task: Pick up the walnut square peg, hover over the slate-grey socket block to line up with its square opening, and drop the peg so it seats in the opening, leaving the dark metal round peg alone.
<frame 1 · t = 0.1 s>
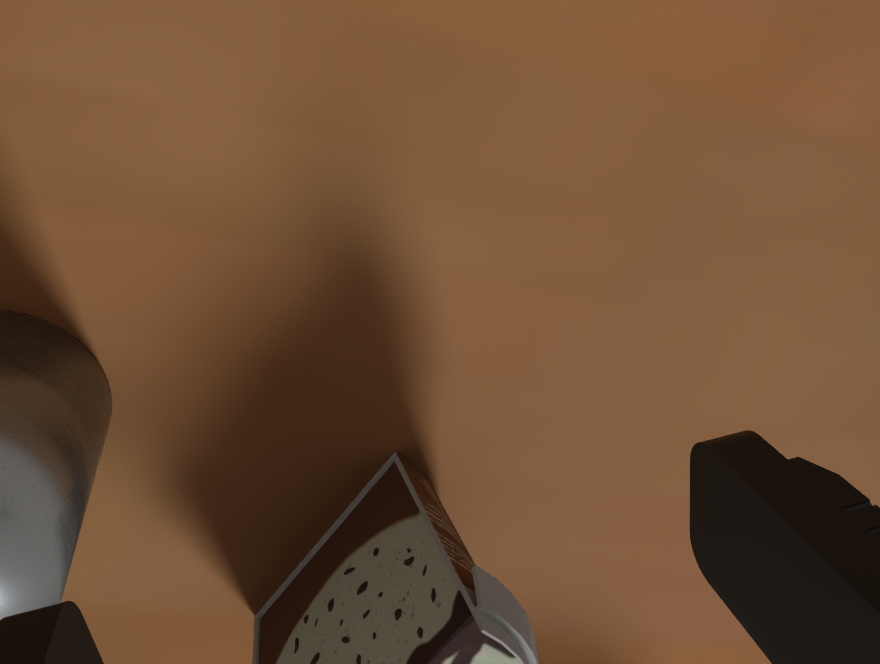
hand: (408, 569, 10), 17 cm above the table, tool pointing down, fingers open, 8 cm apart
round peg: (4, 401, 26), on the table
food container: (382, 561, 33), on the table
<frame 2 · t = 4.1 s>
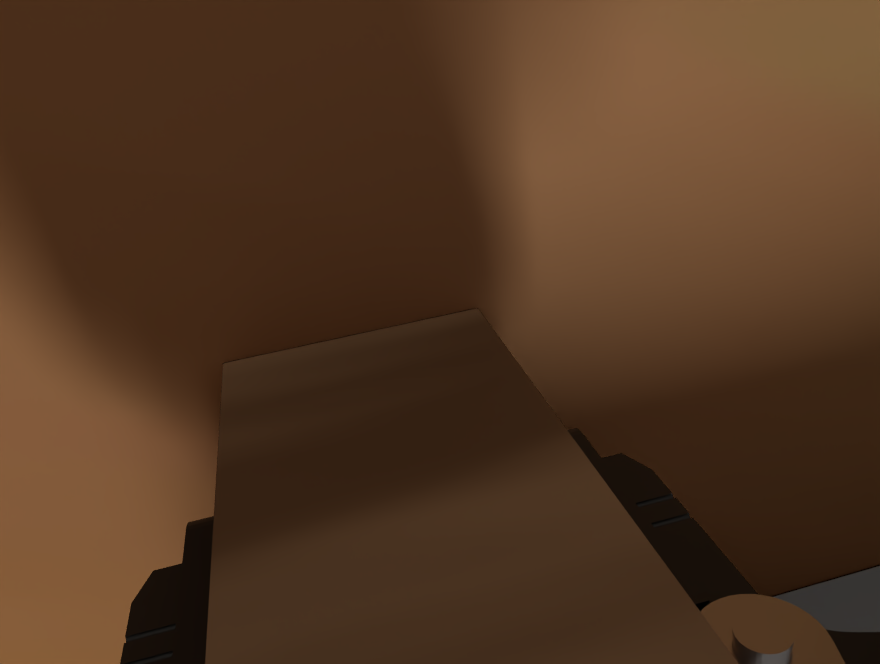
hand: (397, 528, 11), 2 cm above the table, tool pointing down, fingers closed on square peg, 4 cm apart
square peg: (375, 443, 13), on the table, touching gripper
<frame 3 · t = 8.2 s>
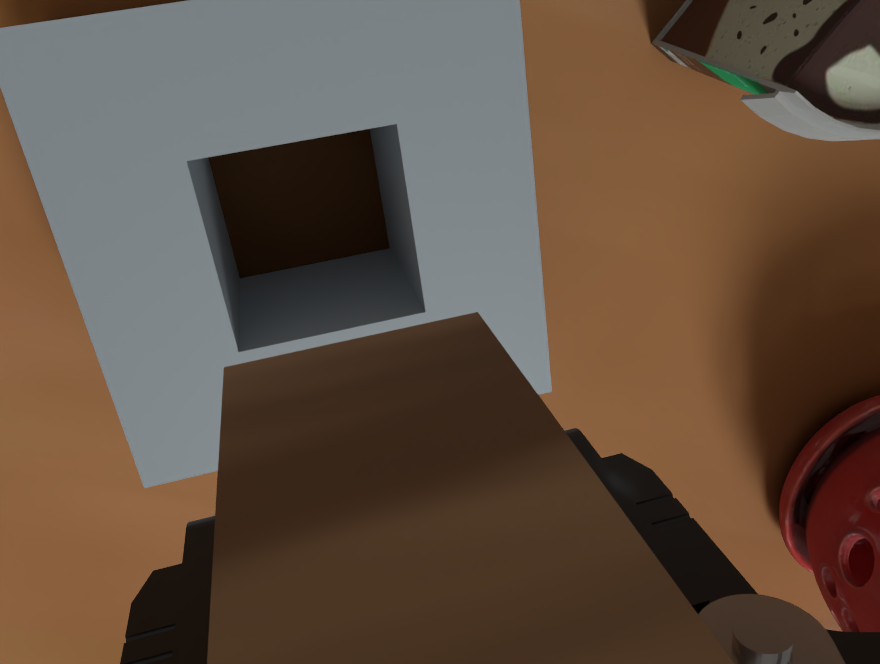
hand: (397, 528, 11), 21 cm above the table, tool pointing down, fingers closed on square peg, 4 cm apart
plant pot: (851, 474, 43), on the table
square peg: (375, 446, 13), point 19 cm above the table, touching gripper
socket block: (300, 189, 30), on the table
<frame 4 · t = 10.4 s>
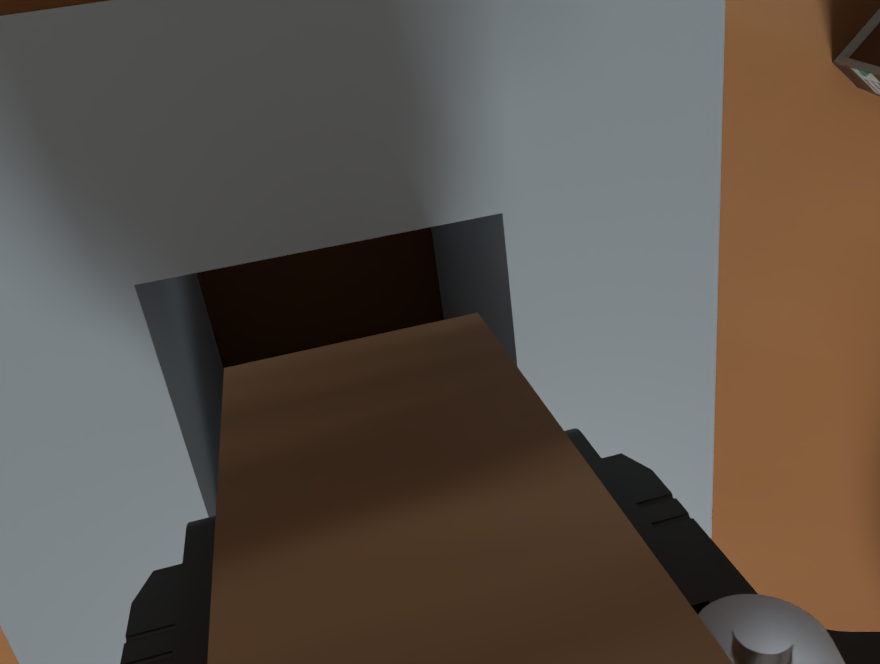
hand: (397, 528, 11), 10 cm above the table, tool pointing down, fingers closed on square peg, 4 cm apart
square peg: (375, 447, 13), point 8 cm above the table, touching gripper
socket block: (322, 276, 20), on the table
when the fingers open (8 cm above the table, at t = 12.3 s): square peg drops 6 cm, resting in socket block.
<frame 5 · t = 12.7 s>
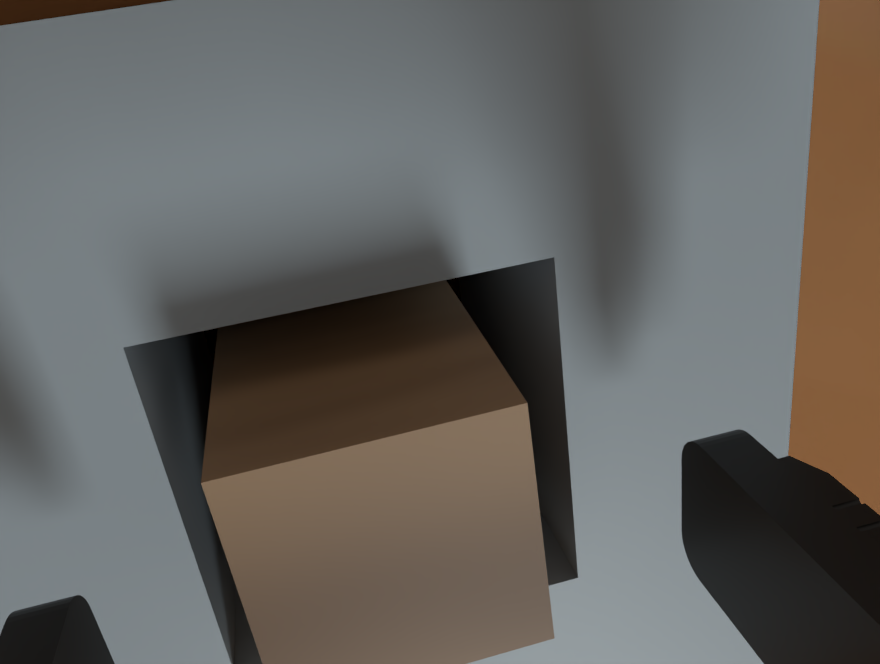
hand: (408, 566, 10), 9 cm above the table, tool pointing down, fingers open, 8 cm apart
square peg: (334, 313, 18), resting in socket block
socket block: (335, 311, 18), on the table
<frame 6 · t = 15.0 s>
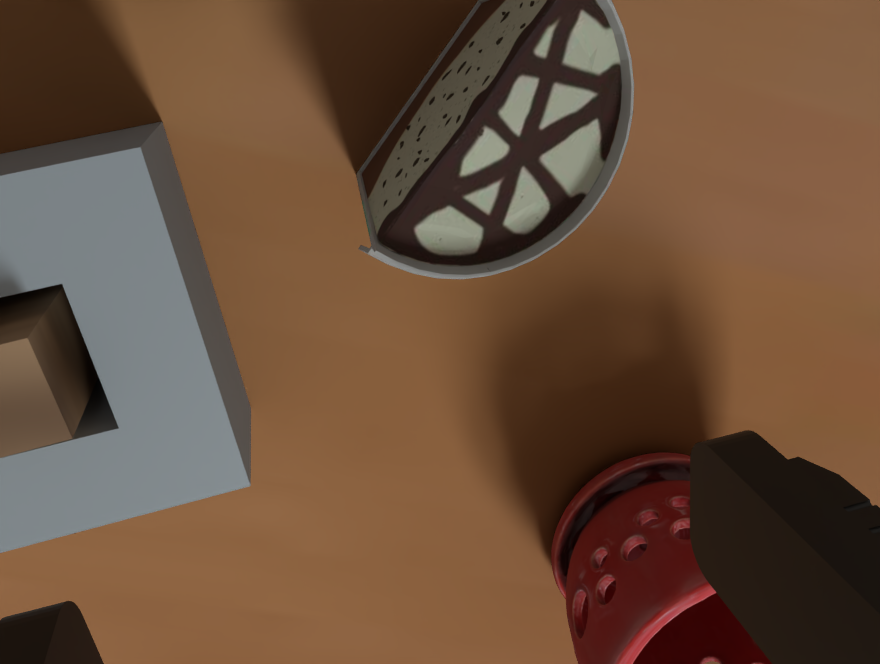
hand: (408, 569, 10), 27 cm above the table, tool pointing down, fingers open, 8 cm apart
plant pot: (627, 526, 47), on the table
square peg: (51, 313, 35), resting in socket block
socket block: (52, 312, 35), on the table
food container: (468, 129, 36), on the table
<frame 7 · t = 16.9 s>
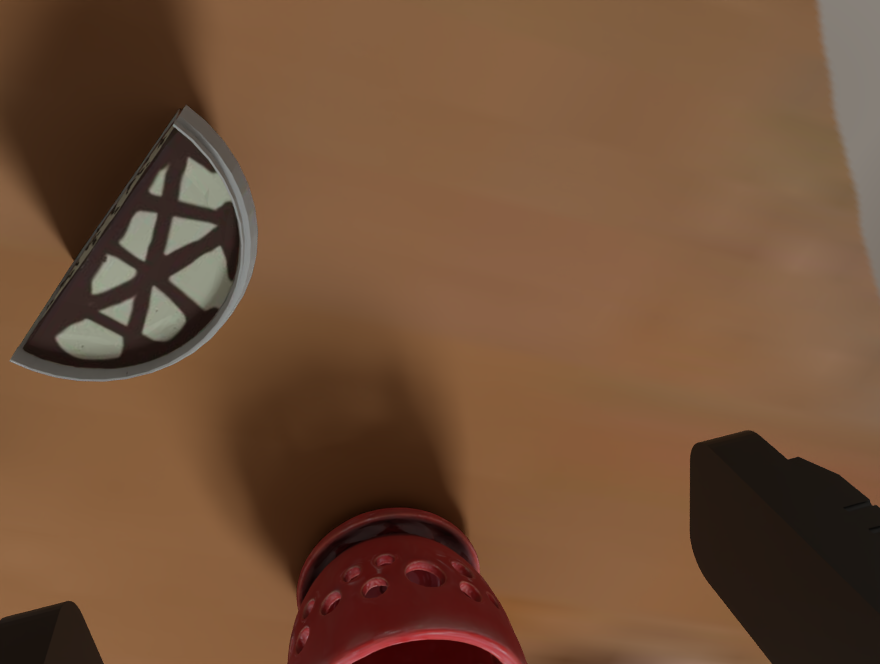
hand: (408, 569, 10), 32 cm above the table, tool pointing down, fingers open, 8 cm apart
plant pot: (379, 570, 51), on the table
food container: (181, 221, 39), on the table
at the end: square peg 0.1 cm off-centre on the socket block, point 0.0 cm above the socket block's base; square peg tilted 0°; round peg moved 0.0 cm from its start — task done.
